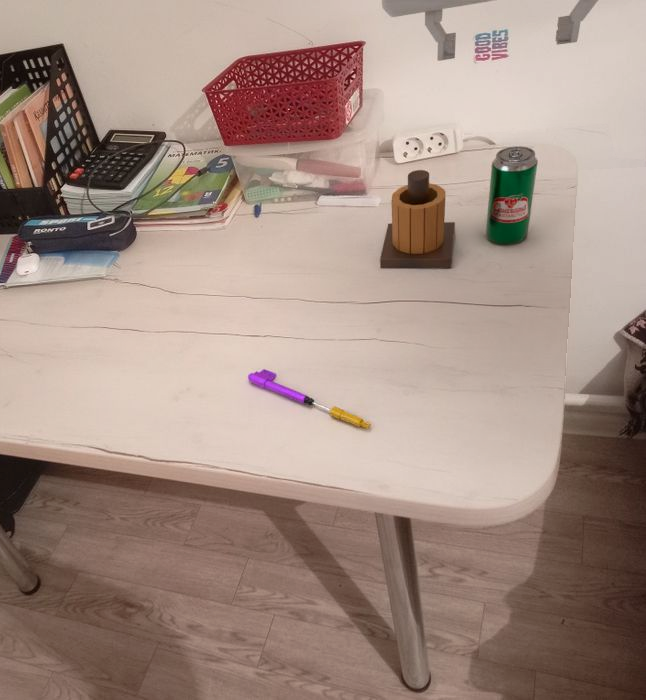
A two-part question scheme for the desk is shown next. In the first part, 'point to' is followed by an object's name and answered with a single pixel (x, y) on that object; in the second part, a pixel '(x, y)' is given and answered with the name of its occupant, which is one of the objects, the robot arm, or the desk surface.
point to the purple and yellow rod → (302, 397)
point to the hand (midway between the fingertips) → (504, 49)
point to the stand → (432, 259)
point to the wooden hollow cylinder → (418, 221)
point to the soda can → (511, 194)
